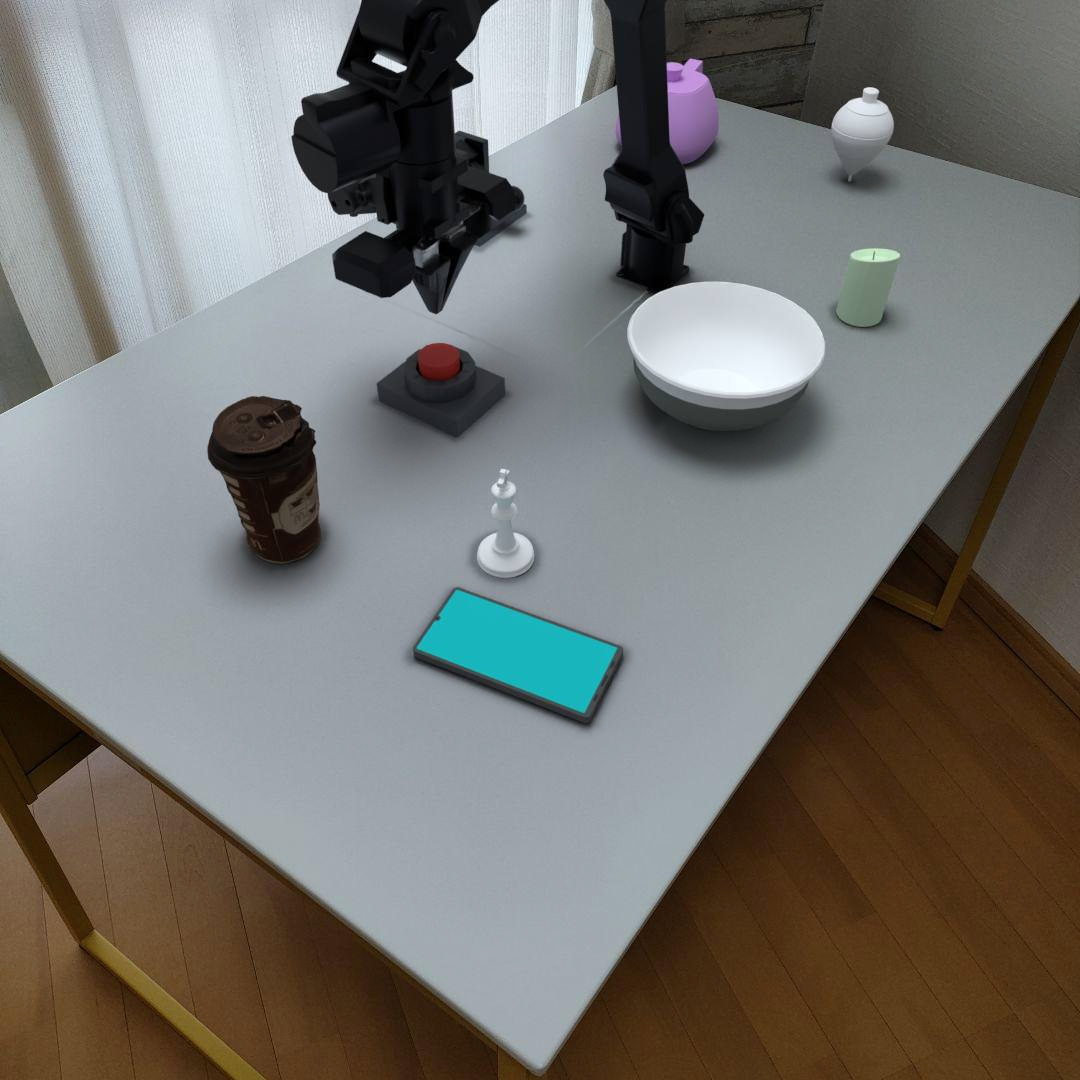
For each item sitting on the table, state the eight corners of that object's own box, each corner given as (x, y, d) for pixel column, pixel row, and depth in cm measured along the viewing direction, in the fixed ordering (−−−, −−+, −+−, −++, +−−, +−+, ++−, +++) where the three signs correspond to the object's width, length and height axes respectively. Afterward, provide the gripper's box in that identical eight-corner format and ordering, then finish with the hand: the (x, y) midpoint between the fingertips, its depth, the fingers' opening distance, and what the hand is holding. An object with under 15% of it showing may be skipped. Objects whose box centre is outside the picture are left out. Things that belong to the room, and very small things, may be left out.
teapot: (586, 166, 135) (589, 82, 127) (651, 112, 147) (658, 32, 139) (676, 190, 130) (685, 105, 122) (735, 132, 142) (747, 51, 134)
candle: (827, 306, 112) (843, 240, 106) (866, 299, 113) (884, 233, 107) (850, 331, 109) (868, 264, 103) (890, 323, 110) (910, 256, 104)
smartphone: (588, 718, 73) (411, 649, 77) (588, 725, 74) (412, 656, 78) (625, 646, 78) (455, 585, 82) (624, 652, 78) (456, 591, 83)
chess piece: (542, 543, 87) (542, 458, 79) (523, 584, 83) (521, 498, 76) (489, 530, 88) (485, 444, 80) (468, 569, 84) (462, 484, 77)
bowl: (830, 460, 94) (851, 391, 88) (634, 469, 93) (641, 399, 87) (783, 344, 107) (798, 277, 101) (611, 350, 106) (615, 283, 100)
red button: (468, 366, 98) (467, 351, 97) (443, 386, 96) (441, 372, 95) (436, 352, 100) (435, 337, 98) (411, 372, 97) (409, 357, 96)
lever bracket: (527, 215, 126) (526, 139, 119) (479, 249, 120) (476, 172, 113) (452, 189, 130) (447, 115, 123) (402, 221, 125) (394, 145, 118)
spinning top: (834, 162, 136) (855, 72, 127) (887, 178, 133) (912, 86, 124) (810, 184, 132) (829, 92, 123) (864, 200, 129) (888, 107, 120)
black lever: (524, 210, 121) (532, 192, 118) (510, 221, 119) (518, 202, 117) (457, 155, 122) (464, 135, 119) (442, 164, 120) (448, 144, 117)
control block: (505, 395, 101) (504, 363, 98) (457, 437, 96) (454, 405, 93) (428, 361, 105) (425, 329, 102) (378, 400, 100) (373, 368, 97)
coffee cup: (347, 508, 89) (325, 393, 80) (325, 577, 84) (298, 462, 74) (253, 501, 90) (220, 386, 81) (224, 569, 84) (185, 454, 75)
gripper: (417, 87, 90) (430, 243, 101) (268, 166, 80) (302, 330, 91) (517, 118, 86) (519, 276, 97) (374, 206, 75) (396, 373, 87)
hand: (435, 311), depth 93 cm, fingers closed
